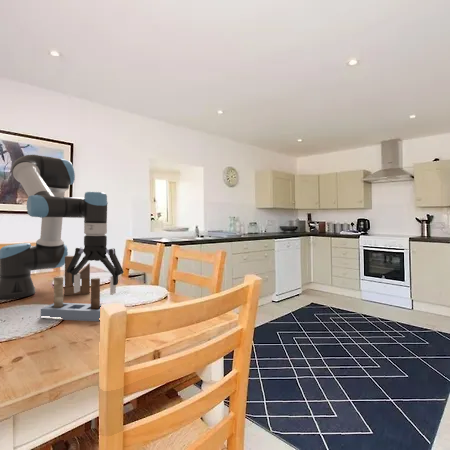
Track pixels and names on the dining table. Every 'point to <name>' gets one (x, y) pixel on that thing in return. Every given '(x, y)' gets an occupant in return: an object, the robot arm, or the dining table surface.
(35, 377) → the dining table surface
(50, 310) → the hole block
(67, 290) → the wooden block
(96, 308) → the walnut dowel
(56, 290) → the beech dowel
